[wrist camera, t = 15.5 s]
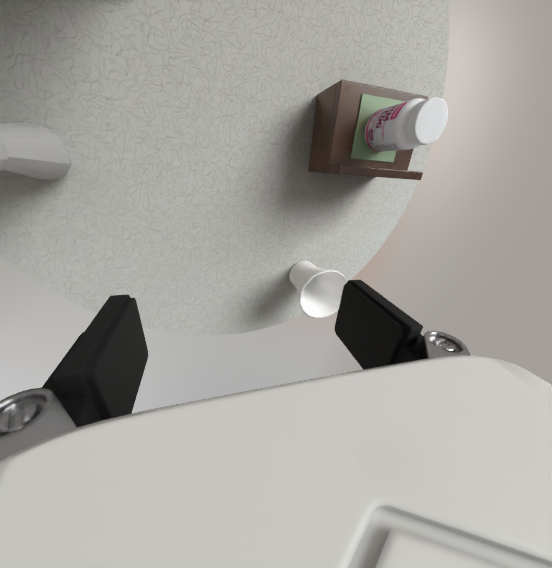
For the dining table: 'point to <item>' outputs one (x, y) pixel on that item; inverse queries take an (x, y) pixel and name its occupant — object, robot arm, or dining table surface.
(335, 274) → the cup
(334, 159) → the shelf
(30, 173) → the salt shaker
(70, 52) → the dining table surface
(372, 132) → the pill bottle
